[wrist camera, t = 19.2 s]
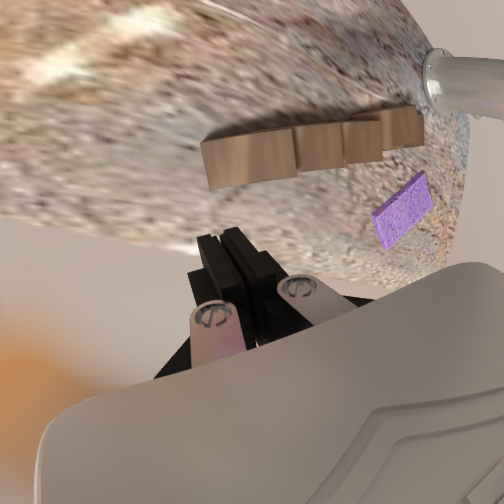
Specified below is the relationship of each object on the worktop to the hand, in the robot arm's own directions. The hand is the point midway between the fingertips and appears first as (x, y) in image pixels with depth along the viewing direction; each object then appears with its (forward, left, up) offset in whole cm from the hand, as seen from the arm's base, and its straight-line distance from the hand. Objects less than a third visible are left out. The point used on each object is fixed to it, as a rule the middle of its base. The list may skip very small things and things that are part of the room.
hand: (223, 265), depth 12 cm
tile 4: (-8, -4, -20) cm, 22 cm away
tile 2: (-20, -11, -20) cm, 30 cm away
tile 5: (-3, -2, -20) cm, 20 cm away
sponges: (-35, -3, -22) cm, 41 cm away
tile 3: (-14, -7, -20) cm, 25 cm away
